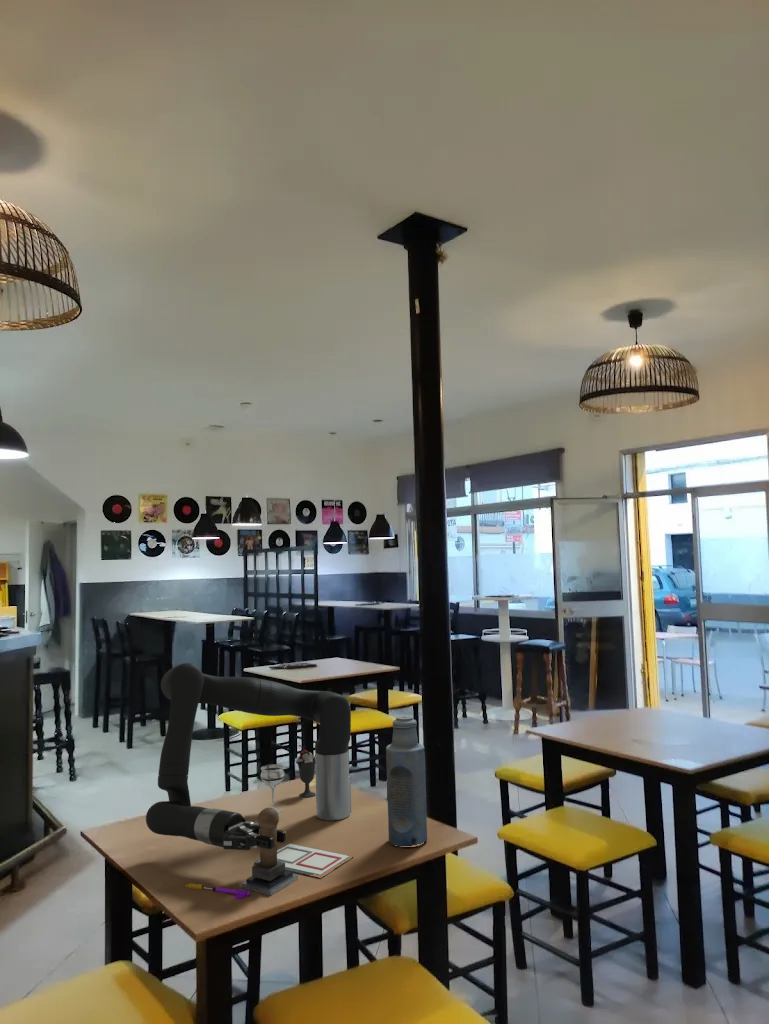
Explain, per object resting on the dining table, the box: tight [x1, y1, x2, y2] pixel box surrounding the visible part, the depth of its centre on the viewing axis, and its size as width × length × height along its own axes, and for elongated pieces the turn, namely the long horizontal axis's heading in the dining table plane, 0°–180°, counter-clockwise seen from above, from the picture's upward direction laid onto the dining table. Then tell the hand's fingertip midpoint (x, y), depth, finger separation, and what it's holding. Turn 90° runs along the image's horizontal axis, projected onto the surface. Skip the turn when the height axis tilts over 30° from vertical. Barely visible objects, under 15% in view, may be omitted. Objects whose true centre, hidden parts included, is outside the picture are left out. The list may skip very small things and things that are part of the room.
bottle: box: [385, 715, 428, 846], centre depth 176 cm, size 10×10×30 cm
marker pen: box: [184, 883, 251, 901], centre depth 149 cm, size 3×1×16 cm
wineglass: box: [260, 763, 286, 814], centre depth 202 cm, size 7×7×12 cm
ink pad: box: [241, 870, 298, 896], centre depth 153 cm, size 9×8×2 cm
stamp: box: [251, 807, 285, 881], centre depth 153 cm, size 5×5×14 cm
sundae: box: [295, 744, 316, 798], centre depth 216 cm, size 7×7×15 cm
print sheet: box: [254, 842, 351, 877], centre depth 165 cm, size 13×19×1 cm
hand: (278, 840), depth 152 cm, fingers closed on stamp, 3 cm apart
